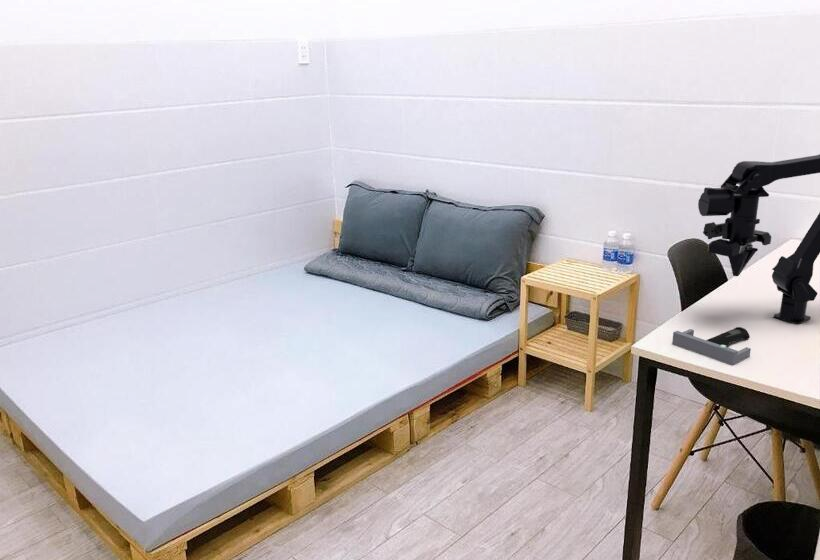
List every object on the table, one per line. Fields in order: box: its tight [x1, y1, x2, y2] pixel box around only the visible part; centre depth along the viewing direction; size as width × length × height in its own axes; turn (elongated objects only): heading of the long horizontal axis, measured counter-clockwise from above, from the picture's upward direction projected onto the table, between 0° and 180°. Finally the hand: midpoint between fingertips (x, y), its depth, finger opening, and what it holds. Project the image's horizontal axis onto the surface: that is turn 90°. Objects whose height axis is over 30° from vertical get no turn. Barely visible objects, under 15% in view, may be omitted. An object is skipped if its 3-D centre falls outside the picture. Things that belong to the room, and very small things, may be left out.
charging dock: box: [671, 328, 752, 366], centre depth 156 cm, size 7×15×3 cm, turn 36°
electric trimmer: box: [706, 326, 751, 347], centre depth 160 cm, size 4×16×3 cm, turn 121°
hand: (735, 275), depth 170 cm, fingers closed
